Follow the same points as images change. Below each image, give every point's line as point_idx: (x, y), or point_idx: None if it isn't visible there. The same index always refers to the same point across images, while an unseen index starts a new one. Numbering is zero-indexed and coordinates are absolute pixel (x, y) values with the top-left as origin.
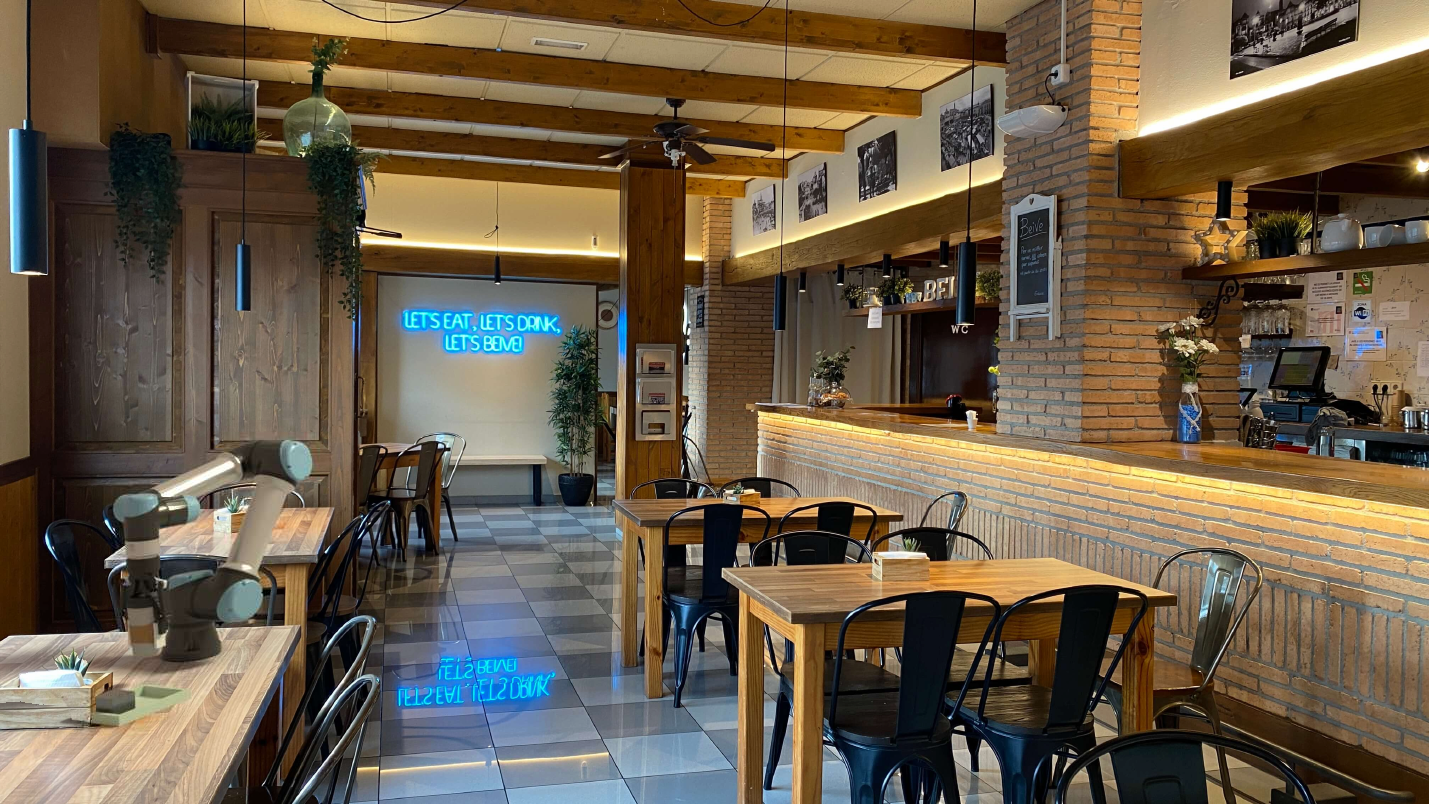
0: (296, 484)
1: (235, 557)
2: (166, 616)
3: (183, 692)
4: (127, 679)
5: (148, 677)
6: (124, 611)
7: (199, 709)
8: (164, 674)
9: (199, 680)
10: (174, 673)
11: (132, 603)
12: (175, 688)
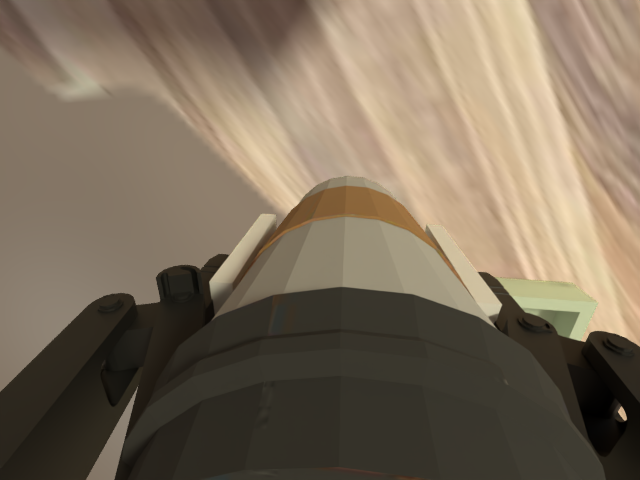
0: None
1: None
2: (618, 414)
3: (587, 323)
4: (229, 151)
5: (275, 114)
6: (117, 356)
7: (630, 324)
8: (300, 67)
9: (479, 97)
10: (326, 44)
11: None
12: (543, 303)
